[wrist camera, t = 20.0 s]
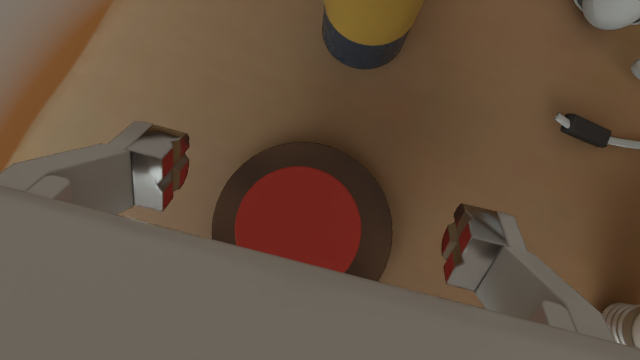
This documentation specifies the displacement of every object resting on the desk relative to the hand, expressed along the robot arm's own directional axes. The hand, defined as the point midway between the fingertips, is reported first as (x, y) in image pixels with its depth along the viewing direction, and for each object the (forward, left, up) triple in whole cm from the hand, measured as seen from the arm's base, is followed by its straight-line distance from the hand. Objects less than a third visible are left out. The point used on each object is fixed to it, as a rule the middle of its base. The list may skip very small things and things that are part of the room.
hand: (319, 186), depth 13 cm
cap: (-1, 0, -11) cm, 11 cm away
